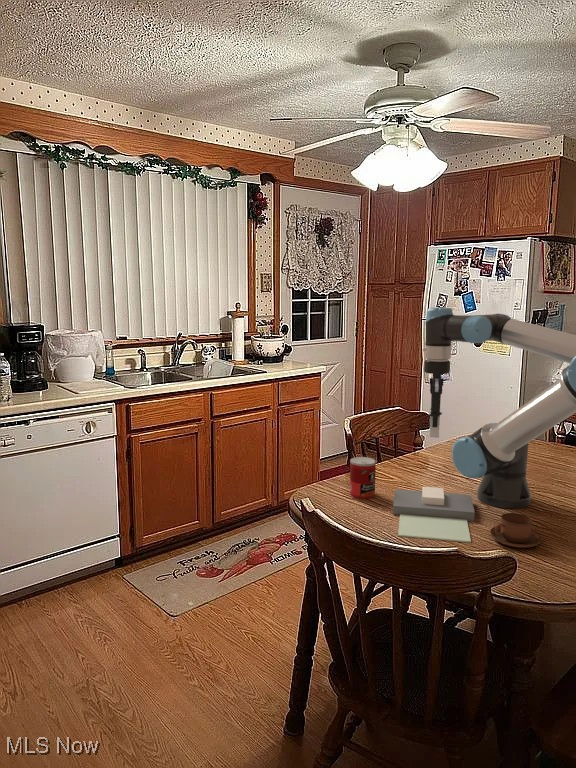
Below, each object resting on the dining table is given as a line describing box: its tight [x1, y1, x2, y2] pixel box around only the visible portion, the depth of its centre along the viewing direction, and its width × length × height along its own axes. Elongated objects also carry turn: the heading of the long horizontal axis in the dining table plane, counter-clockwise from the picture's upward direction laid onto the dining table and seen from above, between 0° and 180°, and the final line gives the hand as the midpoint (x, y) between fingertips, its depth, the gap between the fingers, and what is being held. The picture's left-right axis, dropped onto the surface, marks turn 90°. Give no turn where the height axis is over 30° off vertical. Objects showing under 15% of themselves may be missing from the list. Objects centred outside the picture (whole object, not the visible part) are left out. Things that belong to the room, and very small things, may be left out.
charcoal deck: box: [392, 488, 476, 522], centre depth 167 cm, size 22×14×2 cm, turn 77°
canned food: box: [349, 456, 377, 500], centre depth 178 cm, size 8×8×11 cm
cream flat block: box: [421, 486, 445, 505], centre depth 168 cm, size 9×6×2 cm, turn 167°
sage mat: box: [397, 514, 472, 543], centre depth 154 cm, size 18×14×1 cm
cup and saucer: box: [489, 512, 543, 549], centre depth 145 cm, size 12×12×6 cm
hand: (434, 436), depth 176 cm, fingers closed
